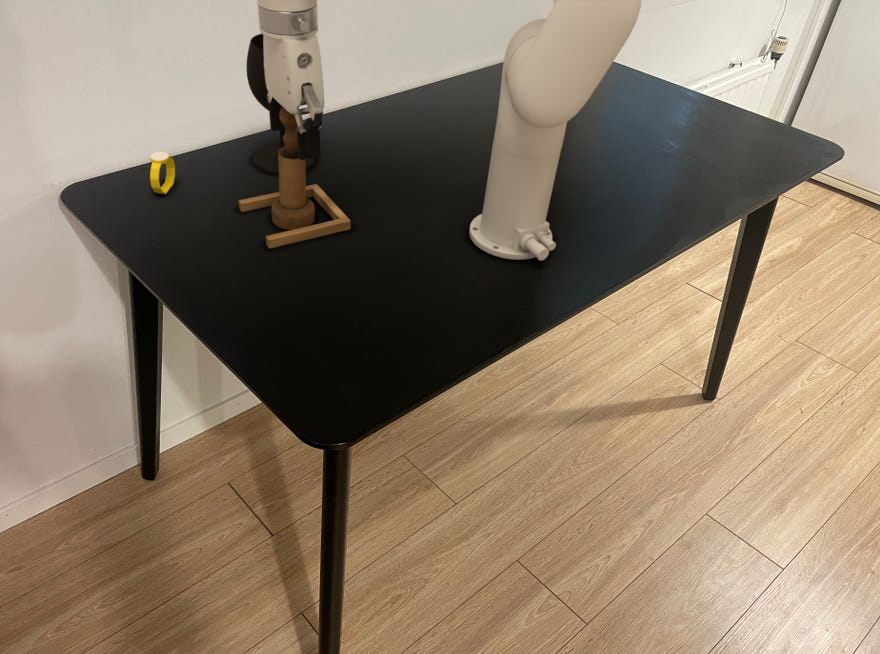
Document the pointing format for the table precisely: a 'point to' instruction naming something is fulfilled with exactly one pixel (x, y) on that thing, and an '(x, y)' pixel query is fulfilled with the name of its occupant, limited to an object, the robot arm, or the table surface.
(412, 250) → the table surface
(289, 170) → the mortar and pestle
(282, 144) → the wine glass
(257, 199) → the frame
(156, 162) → the watch
